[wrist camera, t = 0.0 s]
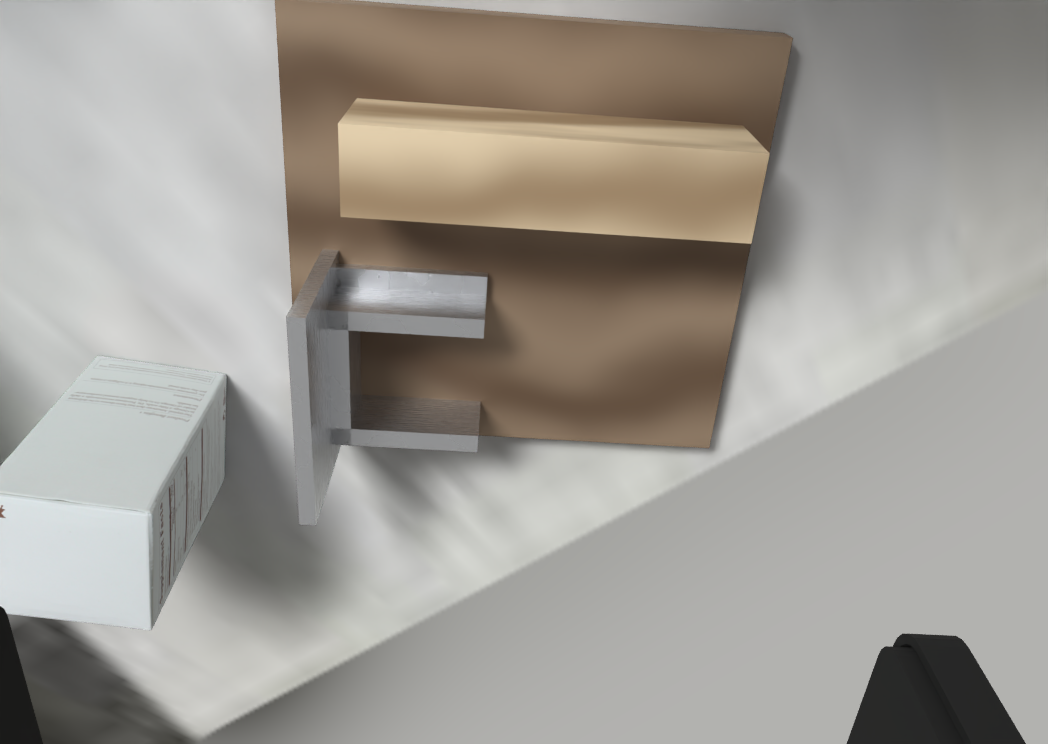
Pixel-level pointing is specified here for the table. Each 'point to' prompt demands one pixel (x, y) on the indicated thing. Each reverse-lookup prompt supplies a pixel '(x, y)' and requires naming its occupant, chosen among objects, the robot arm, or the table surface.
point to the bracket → (335, 364)
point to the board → (525, 254)
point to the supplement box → (111, 493)
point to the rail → (549, 171)
